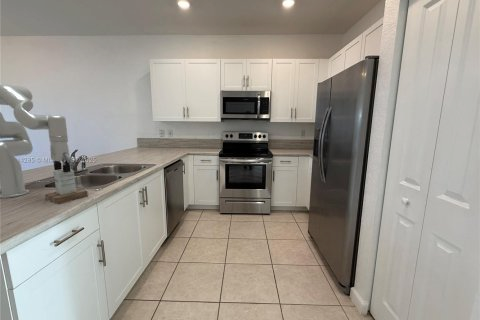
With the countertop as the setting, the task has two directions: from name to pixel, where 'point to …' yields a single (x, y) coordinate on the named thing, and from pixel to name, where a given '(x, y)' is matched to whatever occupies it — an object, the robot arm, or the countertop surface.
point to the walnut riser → (66, 196)
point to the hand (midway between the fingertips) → (62, 170)
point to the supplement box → (64, 182)
